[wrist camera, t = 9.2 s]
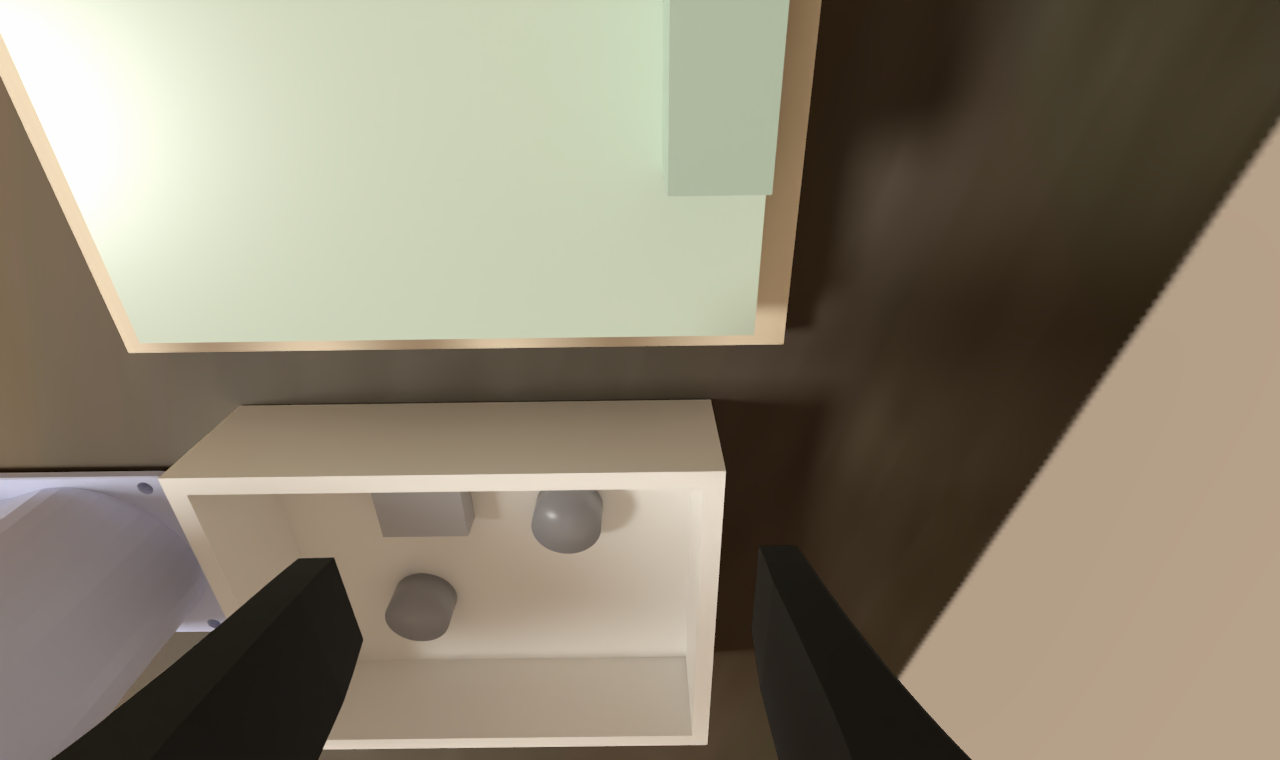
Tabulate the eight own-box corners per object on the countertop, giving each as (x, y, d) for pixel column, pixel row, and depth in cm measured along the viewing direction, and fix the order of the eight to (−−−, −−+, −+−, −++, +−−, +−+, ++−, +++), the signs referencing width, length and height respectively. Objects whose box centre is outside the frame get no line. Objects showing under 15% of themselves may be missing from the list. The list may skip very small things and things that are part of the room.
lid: (183, 317, 18) (44, 399, 14) (-85, -351, 11) (-508, -587, 7) (743, 310, 18) (776, 389, 14) (793, -364, 11) (886, -610, 7)
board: (151, 339, 19) (128, 352, 18) (-177, -413, 12) (-244, -451, 11) (776, 331, 19) (783, 344, 18) (856, -430, 12) (873, -469, 11)
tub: (336, 657, 27) (290, 749, 23) (239, 405, 20) (157, 478, 17) (697, 653, 27) (707, 744, 23) (710, 399, 20) (726, 471, 17)
